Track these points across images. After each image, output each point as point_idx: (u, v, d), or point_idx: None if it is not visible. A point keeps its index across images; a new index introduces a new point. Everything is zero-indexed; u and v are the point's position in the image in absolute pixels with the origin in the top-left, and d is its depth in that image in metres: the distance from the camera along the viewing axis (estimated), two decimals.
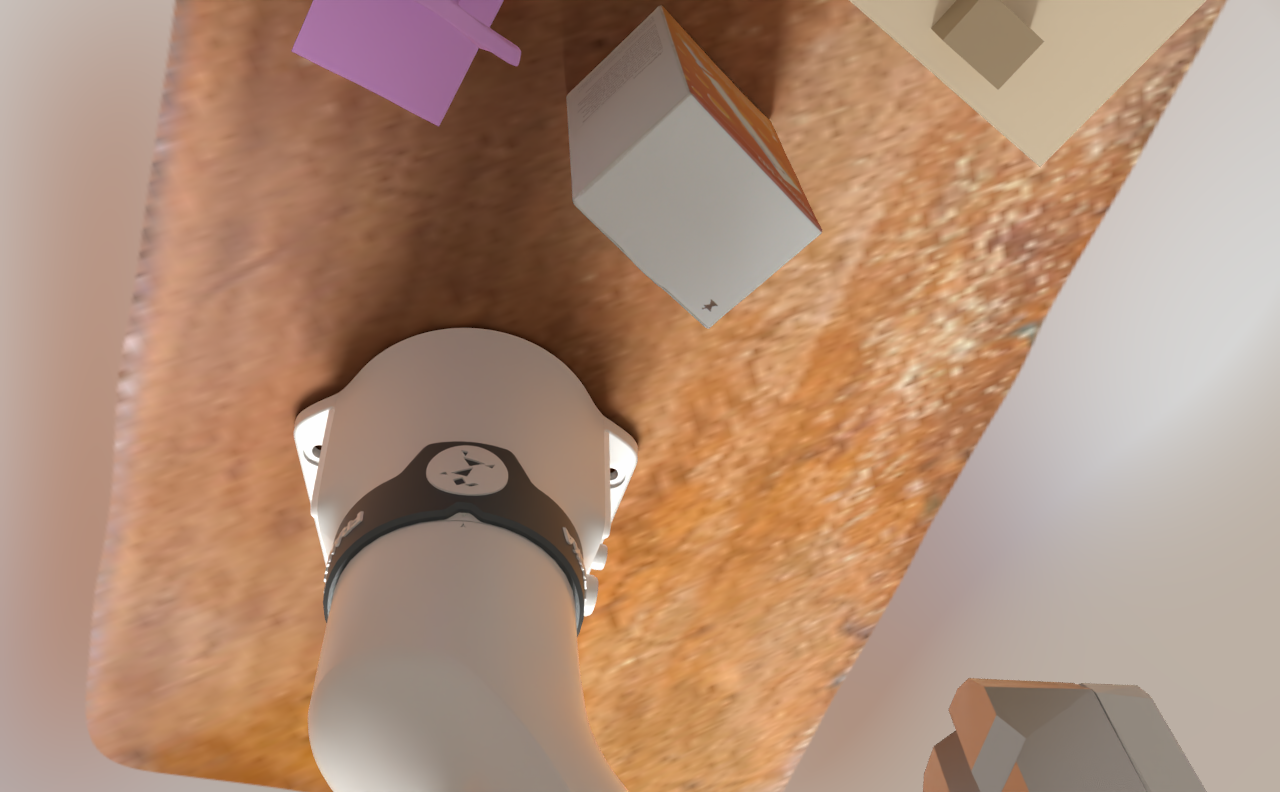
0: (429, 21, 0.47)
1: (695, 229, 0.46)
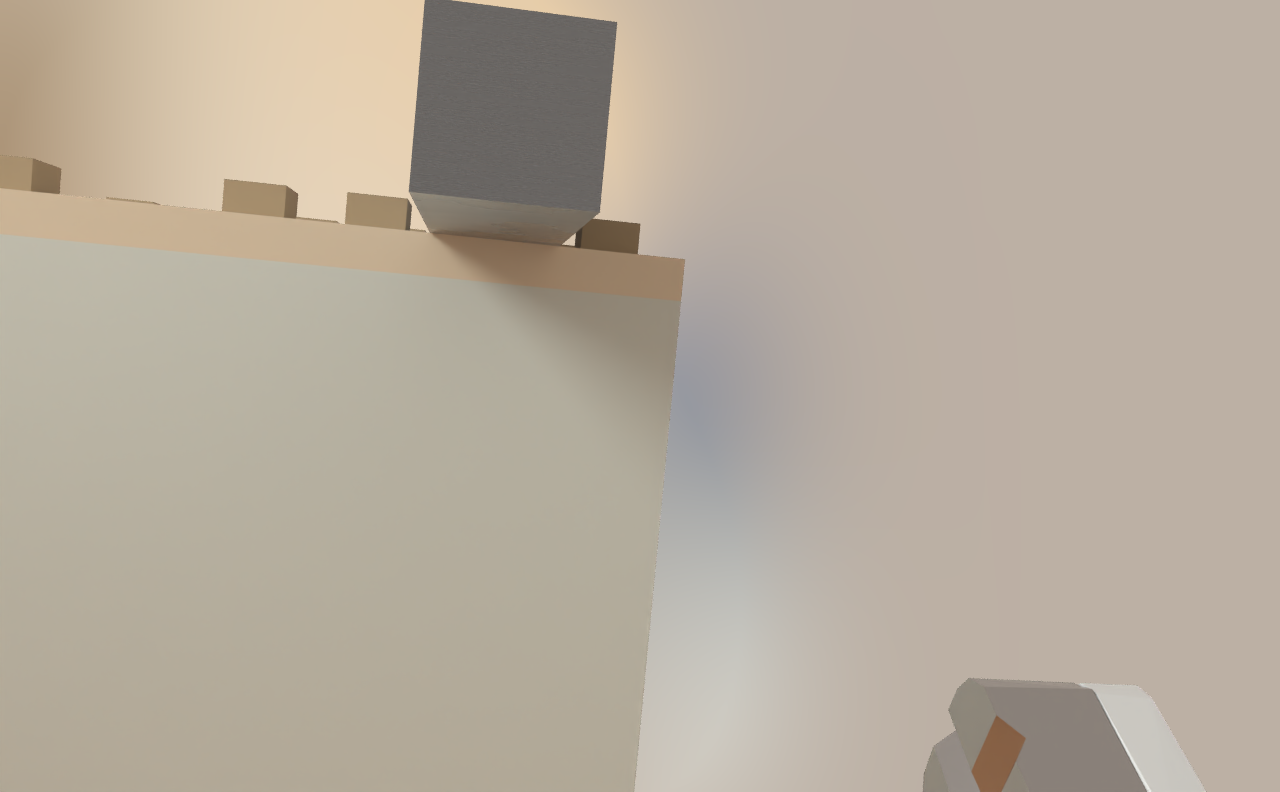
0: None
1: None
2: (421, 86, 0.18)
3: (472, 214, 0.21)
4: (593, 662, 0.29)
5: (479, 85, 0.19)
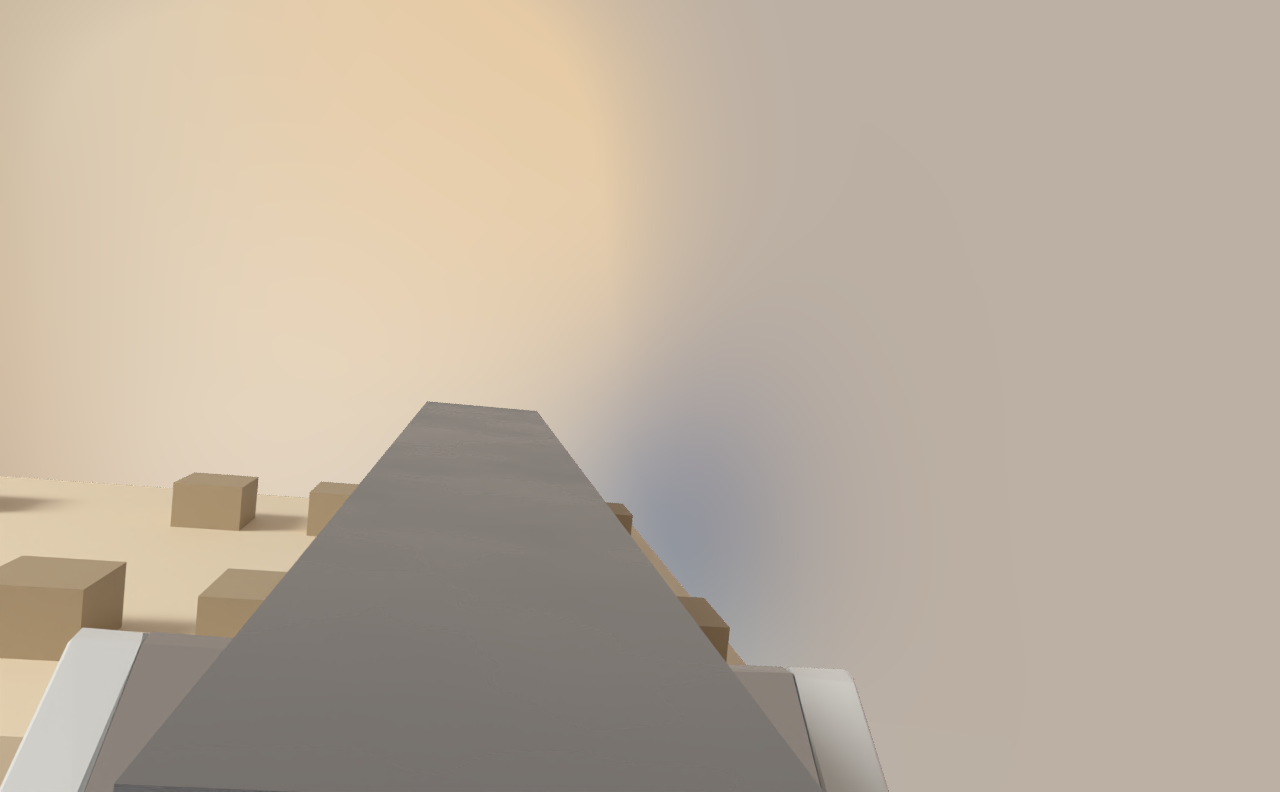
0: None
1: None
2: None
3: None
4: None
5: None
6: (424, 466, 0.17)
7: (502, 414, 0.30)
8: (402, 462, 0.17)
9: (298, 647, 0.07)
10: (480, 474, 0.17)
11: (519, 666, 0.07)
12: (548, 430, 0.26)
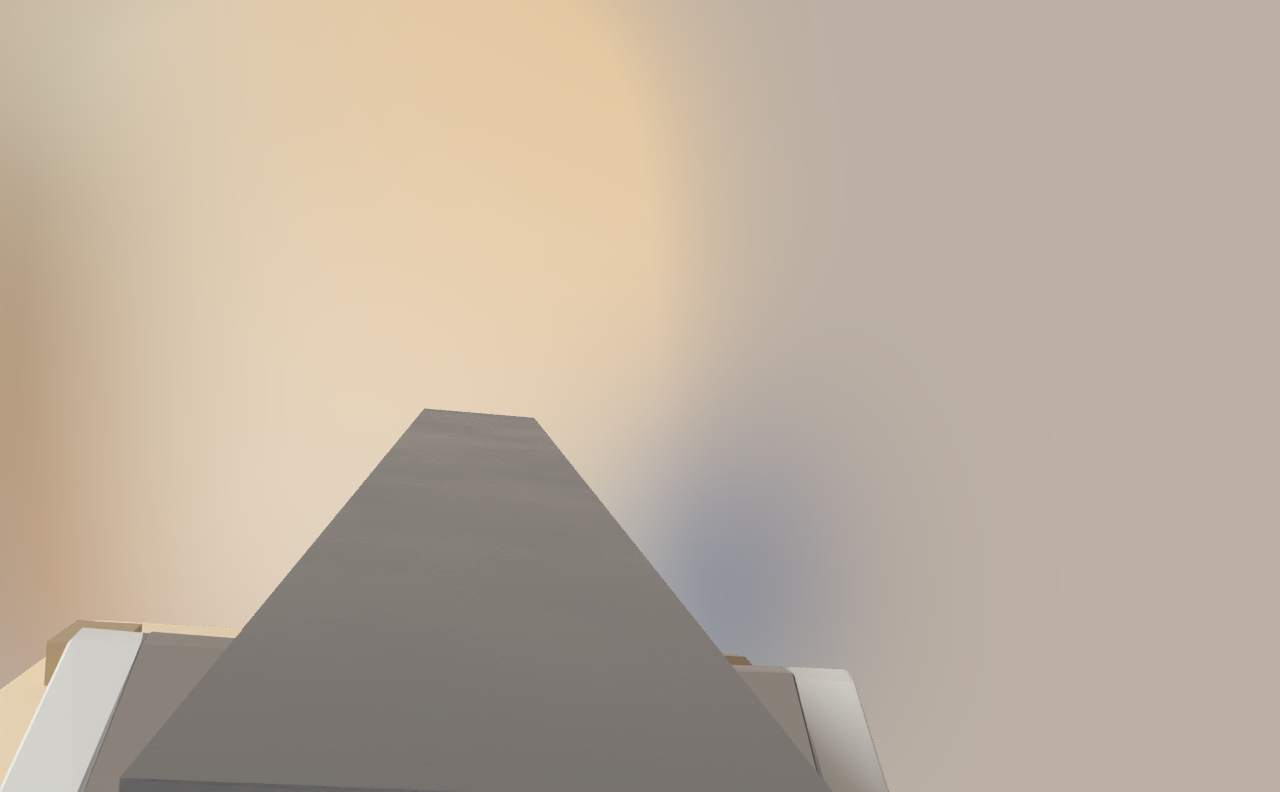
0: None
1: None
2: None
3: None
4: None
5: None
6: (422, 471, 0.17)
7: (499, 421, 0.30)
8: (400, 467, 0.17)
9: (302, 645, 0.07)
10: (479, 479, 0.17)
11: (520, 664, 0.07)
12: (546, 436, 0.26)
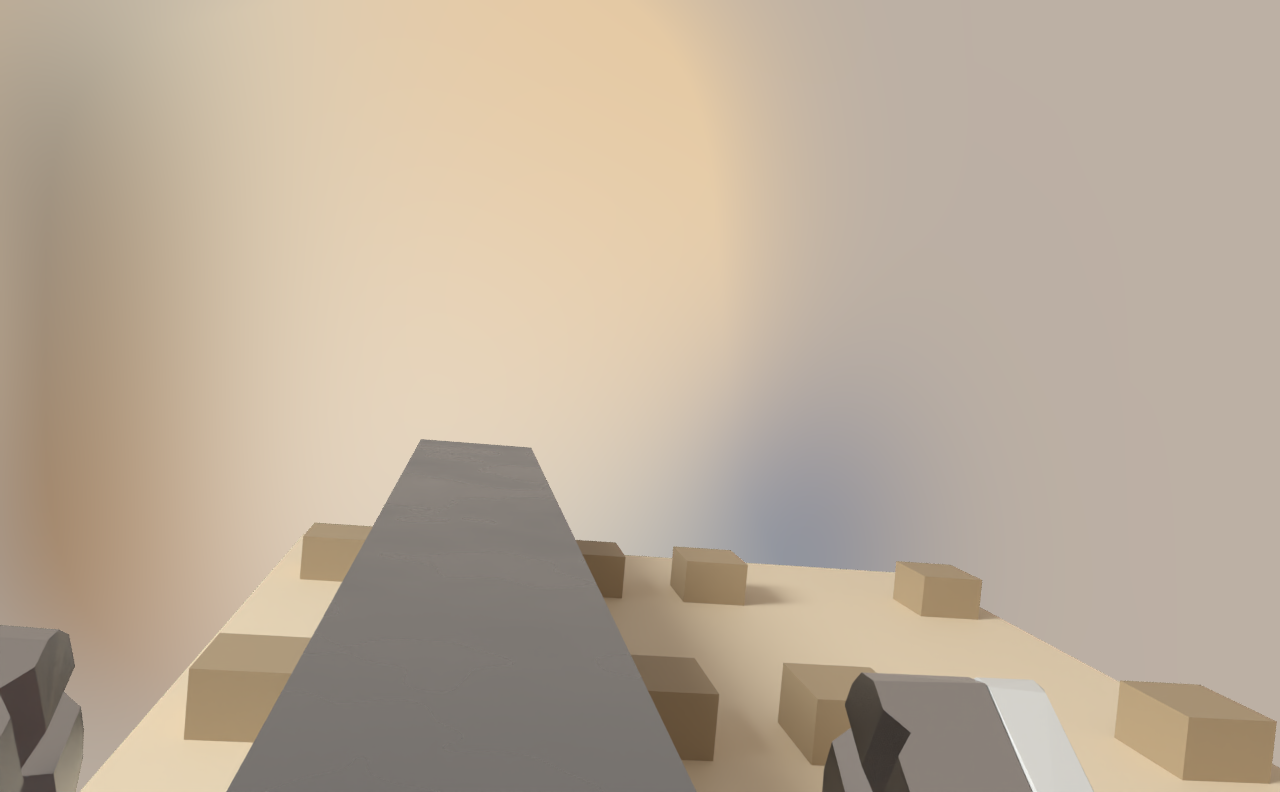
0: None
1: None
2: None
3: None
4: None
5: None
6: (415, 538, 0.17)
7: (496, 454, 0.30)
8: (393, 534, 0.17)
9: None
10: (471, 547, 0.16)
11: None
12: (542, 476, 0.26)
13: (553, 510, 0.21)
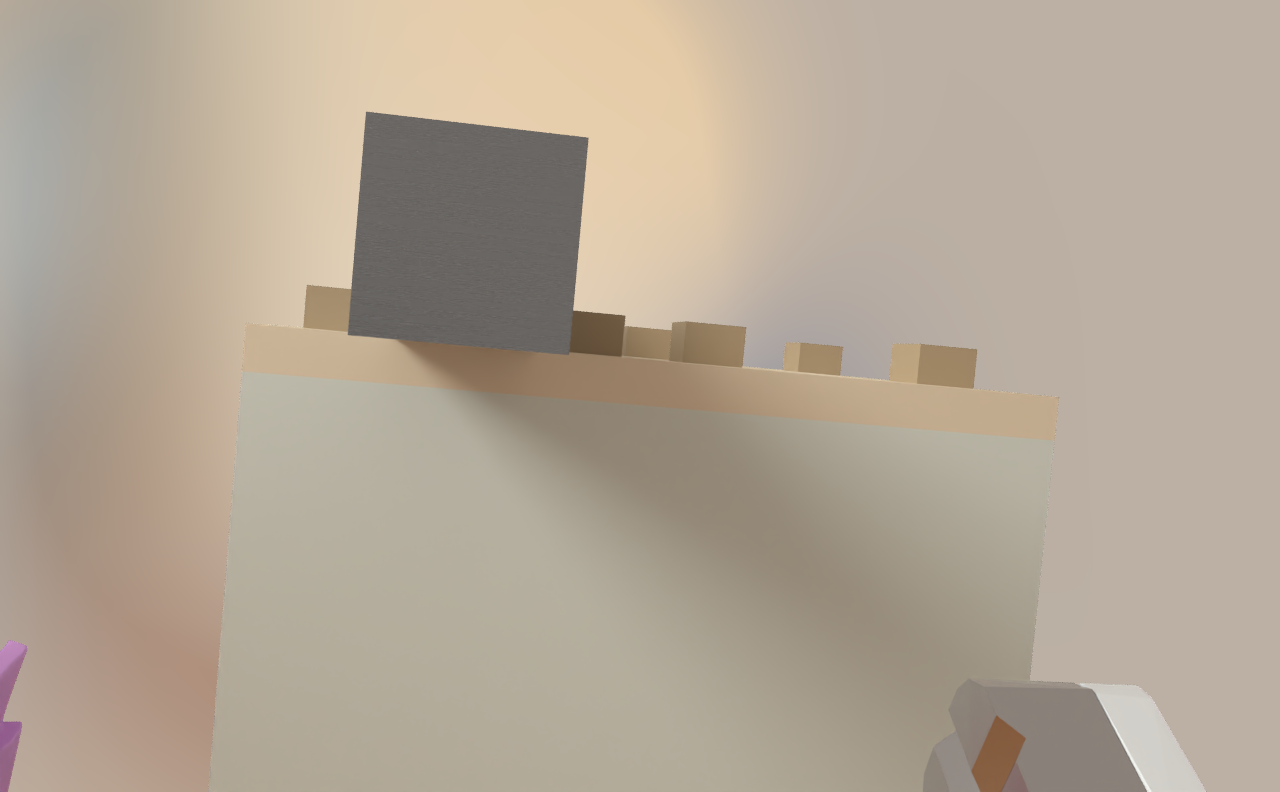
0: None
1: None
2: (362, 214, 0.16)
3: None
4: None
5: (429, 212, 0.16)
6: None
7: None
8: None
9: None
10: None
11: None
12: None
13: None
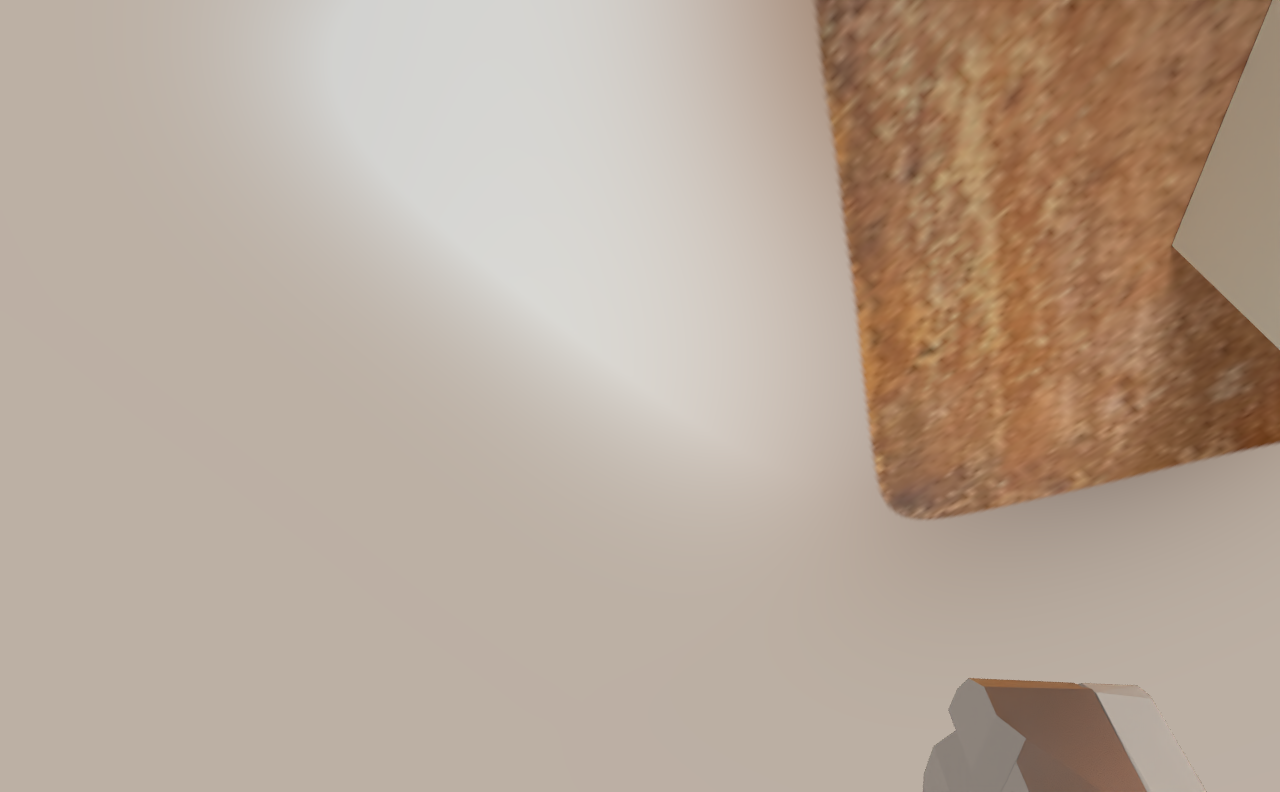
0: None
1: None
2: None
3: None
4: None
5: None
6: None
7: None
8: None
9: None
10: None
11: None
12: None
13: None
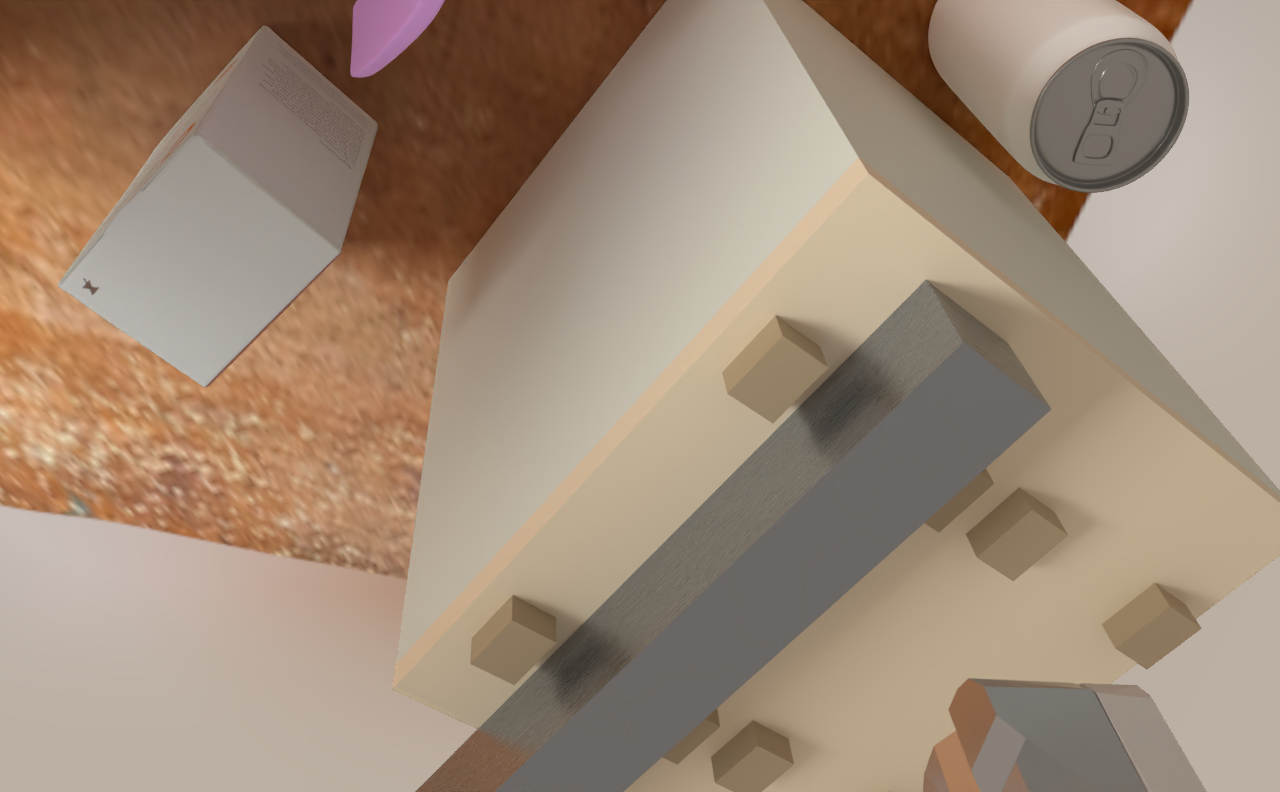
0: None
1: (185, 266, 0.41)
2: None
3: None
4: None
5: None
6: (556, 760, 0.32)
7: (936, 467, 0.28)
8: (552, 751, 0.32)
9: None
10: (570, 779, 0.33)
11: None
12: (841, 593, 0.30)
13: (708, 709, 0.32)
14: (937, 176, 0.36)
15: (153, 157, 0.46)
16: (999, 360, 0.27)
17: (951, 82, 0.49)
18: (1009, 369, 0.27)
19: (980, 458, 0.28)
